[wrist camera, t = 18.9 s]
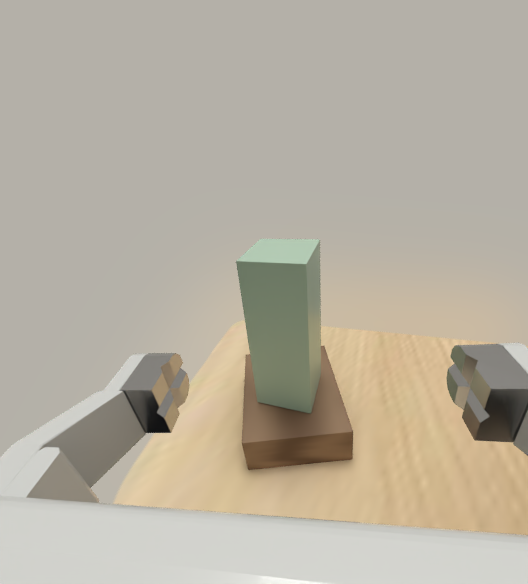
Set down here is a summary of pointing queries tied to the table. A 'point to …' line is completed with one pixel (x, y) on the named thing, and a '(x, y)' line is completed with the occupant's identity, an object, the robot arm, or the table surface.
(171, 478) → the table surface
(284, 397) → the tall sage green pillar
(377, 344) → the table surface
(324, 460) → the walnut block
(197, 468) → the table surface
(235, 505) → the table surface
